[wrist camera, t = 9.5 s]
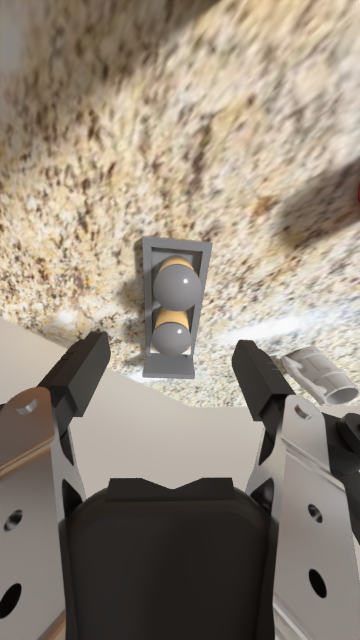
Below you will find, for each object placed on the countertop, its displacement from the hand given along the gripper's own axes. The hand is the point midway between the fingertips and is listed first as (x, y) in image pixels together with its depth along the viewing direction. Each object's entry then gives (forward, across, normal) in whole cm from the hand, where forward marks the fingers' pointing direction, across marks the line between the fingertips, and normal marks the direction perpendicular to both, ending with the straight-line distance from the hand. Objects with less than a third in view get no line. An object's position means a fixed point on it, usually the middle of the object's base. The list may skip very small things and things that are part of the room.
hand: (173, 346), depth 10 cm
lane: (+19, 0, +8) cm, 20 cm away
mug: (+19, -30, +18) cm, 40 cm away
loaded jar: (+18, 0, +8) cm, 20 cm away
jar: (+18, 0, 0) cm, 19 cm away
